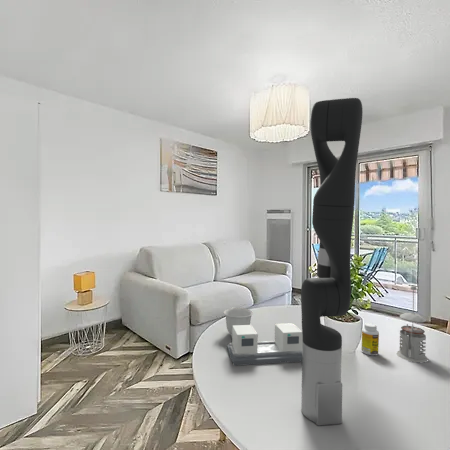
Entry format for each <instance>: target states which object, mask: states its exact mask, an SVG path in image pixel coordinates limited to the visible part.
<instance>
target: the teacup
mask: <svg viewBox="0 0 450 450" xmlns="http://www.w3.org/2000/svg"><path fill="white" fill-rule="evenodd" d="M223 314H224V315H225V324H226V329H227V332H228V333H229V334H230V337H231V338H232V326H233V325H251V319H252V316H253V315H254V311H253V310H250V309H249V308H242V307H233V306H232V307H231V306H230V308H226V309H225V310H224V311H223Z"/></svg>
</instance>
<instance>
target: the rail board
mask: <svg viewBox="0 0 450 450" xmlns="http://www.w3.org/2000/svg"><path fill="white" fill-rule="evenodd" d="M226 347H227V348H226V349H227V352H228V355H229V357H230V360H231V363H232V366H244V365H245V366H247V365H262V364H263V365H264V364H281V363H283V364H284V363H295V362H296V363H297V362H302V354H298V355H280V356H262V357H245V358H234V357H233V354H232V352H231V349H230V347H229V344H227V345H226Z"/></svg>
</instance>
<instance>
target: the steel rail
mask: <svg viewBox="0 0 450 450" xmlns="http://www.w3.org/2000/svg"><path fill="white" fill-rule="evenodd" d="M228 345H229V347H230V349H231V352H232V354H233V357H234V358H245V357H262V356H280V355H298V354H302V351H281V350H280V349H279V348H278V346H277V345H276V344H275V340H267V341H266V340H265V341H258V347H257V353H246V354H237V353H236V352H235V350H234V348H233V344H232V342H229V344H228Z"/></svg>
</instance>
